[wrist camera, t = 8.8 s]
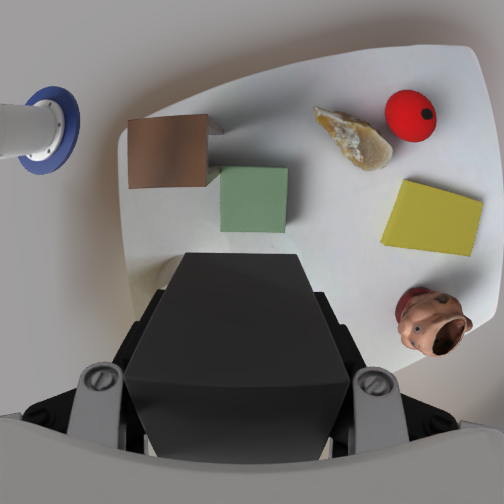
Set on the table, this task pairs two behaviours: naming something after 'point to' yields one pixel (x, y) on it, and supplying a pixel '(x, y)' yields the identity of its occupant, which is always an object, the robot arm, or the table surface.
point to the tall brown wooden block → (171, 151)
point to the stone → (356, 139)
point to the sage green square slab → (253, 198)
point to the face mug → (431, 321)
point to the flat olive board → (432, 220)
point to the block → (237, 364)
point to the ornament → (410, 116)
